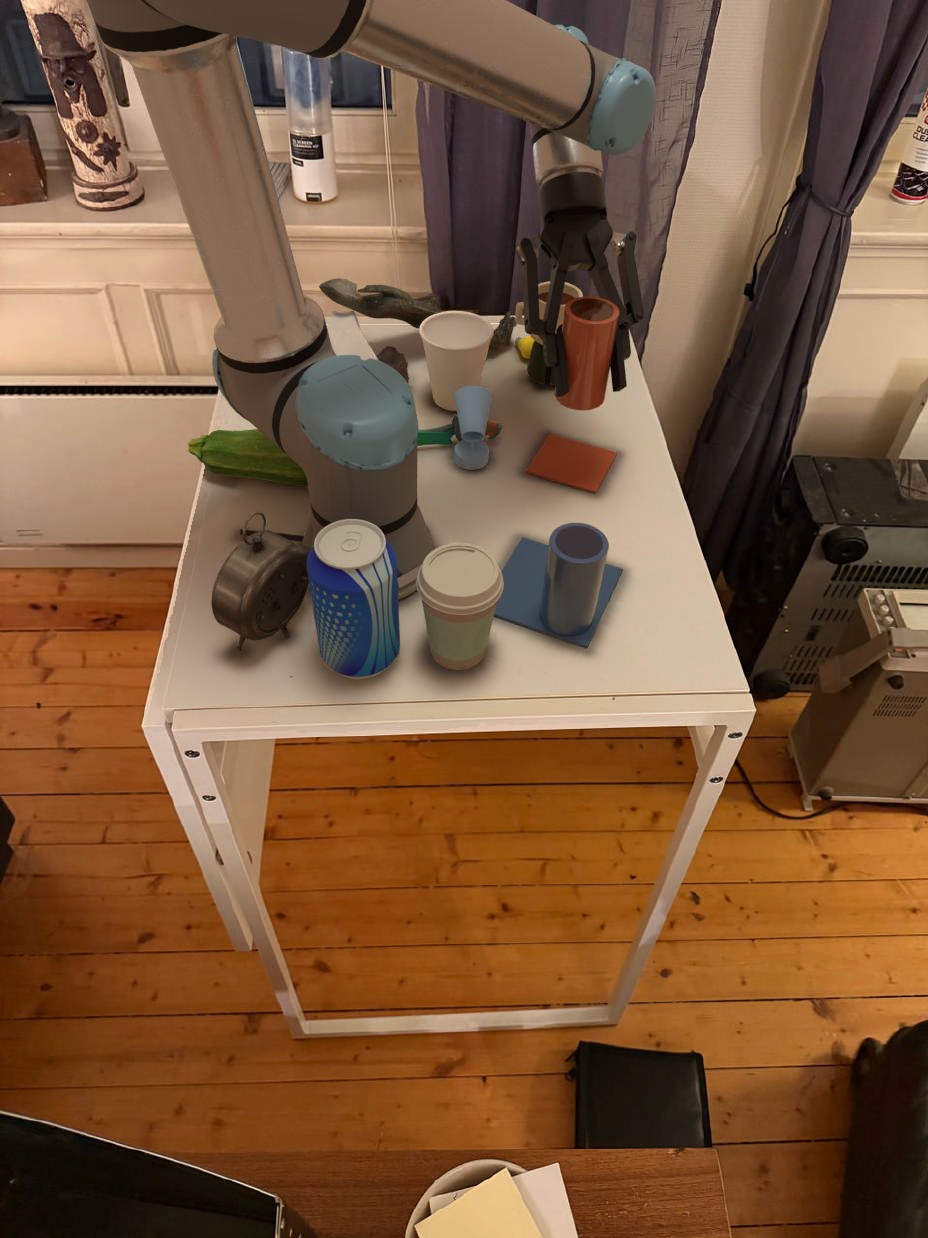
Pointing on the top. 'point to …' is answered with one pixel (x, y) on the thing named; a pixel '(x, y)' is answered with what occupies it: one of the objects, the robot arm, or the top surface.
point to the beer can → (355, 598)
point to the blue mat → (526, 591)
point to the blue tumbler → (573, 578)
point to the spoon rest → (348, 336)
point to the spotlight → (472, 426)
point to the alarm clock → (260, 585)
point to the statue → (399, 305)
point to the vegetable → (246, 457)
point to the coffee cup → (459, 602)
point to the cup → (454, 352)
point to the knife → (452, 433)
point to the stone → (394, 361)
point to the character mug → (536, 360)
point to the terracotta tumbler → (588, 350)
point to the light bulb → (525, 345)
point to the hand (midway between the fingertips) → (591, 391)
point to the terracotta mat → (572, 463)
